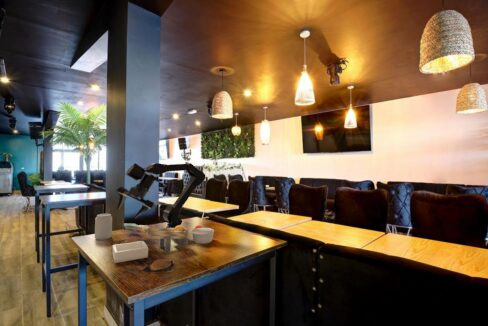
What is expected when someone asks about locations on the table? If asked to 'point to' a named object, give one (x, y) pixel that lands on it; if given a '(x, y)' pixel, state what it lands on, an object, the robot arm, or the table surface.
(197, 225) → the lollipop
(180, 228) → the ball
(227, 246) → the table surface
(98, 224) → the can
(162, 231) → the chute
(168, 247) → the pivot stand
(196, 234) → the ramekin
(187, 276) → the table surface
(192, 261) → the table surface
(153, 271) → the bread roll
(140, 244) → the bin
